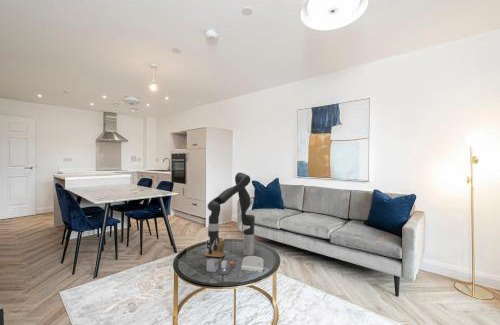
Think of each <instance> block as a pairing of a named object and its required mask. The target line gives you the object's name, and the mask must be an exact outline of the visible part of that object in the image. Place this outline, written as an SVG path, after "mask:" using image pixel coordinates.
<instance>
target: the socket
mask: <svg viewBox="0 0 500 325" xmlns="http://www.w3.org/2000/svg"><path fill="white" fill-rule="evenodd" d="M217 270H218V271H219V259H218V258H209V259H208V260H207V261H206V272H210V273H215V272H217Z"/></svg>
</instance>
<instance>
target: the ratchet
mask: <svg viewBox="0 0 500 325" xmlns="http://www.w3.org/2000/svg"><path fill="white" fill-rule="evenodd" d="M235 266H236V262H235V261H234V260H230V261H229V262H228V260H225V259H223V260H222V261H221V266H220V267H218V273H219V275H221V276H227V275H229V274H230V270H232V268H234V267H235Z"/></svg>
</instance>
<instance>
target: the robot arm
mask: <svg viewBox="0 0 500 325" xmlns="http://www.w3.org/2000/svg"><path fill="white" fill-rule="evenodd" d="M234 182H235V185H234V186H231V187H229V188H226V189H225V190H224V191H222V192H221V193H220V194H219V195H218V196H216V197H214V198H213V199H211V200H210V201H209V203H208V204H207V209H208V211H211V212H210V215H209V216H208V226H207V236H208V237H209V239H207V241H206V249H207V250H208V251H209V254H210V255H211V254H212V250H213V246H214V251H217V245H218V244H219V238H220V235H219V234H220V233H219V231H220V229H219V228H220V227H219V220H220V218H219V217H220V212H221V205H223V204H225V203H227V202H228V200H230V199H231V198H232V197H233V196H234V195H236V194H238V201H239V206H240V214H241V217H240V218H241V224H242V226H246V227H247V226H248V227H247V228H246V229H244V230H243V233H242V234H243V239H242V240H243V241H242V245H243V246H242V254H243V255H244V256H254V254H255V222H256V221H255V220H256V219H255V216H254V214H246V213H247V211H248V210H249V208H250V206H251V205H252V202H251V197H250V193H249V192H248V190H247V189H246V188H247V186H248V185H250V183H251V177H250V176H249V175H248V174H246V173H244V172H237V173H236V174H235V177H234ZM217 241H218V242H217Z"/></svg>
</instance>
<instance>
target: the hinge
mask: <svg viewBox="0 0 500 325" xmlns="http://www.w3.org/2000/svg"><path fill="white" fill-rule="evenodd" d="M240 270H241V271H251V272H256V271H258V272H257V273H264V272H263V271H264V270H265V260H264V259H263V258H262V257H259V256H256V255H245V256H244V257H243V259H242V263H241V267H240Z"/></svg>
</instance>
